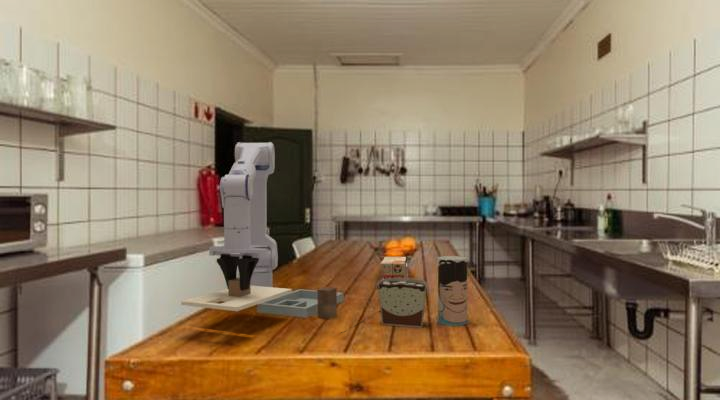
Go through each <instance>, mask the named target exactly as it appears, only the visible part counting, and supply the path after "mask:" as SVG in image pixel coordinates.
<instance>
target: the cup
mask: <svg viewBox="0 0 720 400" xmlns="http://www.w3.org/2000/svg"><path fill="white" fill-rule="evenodd" d="M437 266H438V267H437V285H438V286H437V291H438V292H437V294H438V295H437V297H438V299H437V301H438V305H437V306H438V307H437V308H438V309H437V310H438V311H437V312H438V324H441V325H445V326H451V327H452V326H455V327H457V326H464V325H466V324H468V257H465V256H457V255H446V256H445V255H444V256H438V258H437Z"/></svg>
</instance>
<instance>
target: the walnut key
mask: <svg viewBox="0 0 720 400" xmlns="http://www.w3.org/2000/svg"><path fill="white" fill-rule="evenodd" d="M316 291H317V298H318V313H317V319H322V320H323V319H325V320H330V319H332V318H334V317H336V316H337V315H338V309H337V307H338V306H337V305H338V304H337V287H331V286H324V287H321V288H319V289H317V290H316Z"/></svg>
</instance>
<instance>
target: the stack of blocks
mask: <svg viewBox="0 0 720 400" xmlns="http://www.w3.org/2000/svg"><path fill="white" fill-rule="evenodd" d="M408 267H409V266H408V262H407V257H406V256H384V258H383V259H382V261H381V262H380V280H383V279H390V278H409V273H408Z"/></svg>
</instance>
